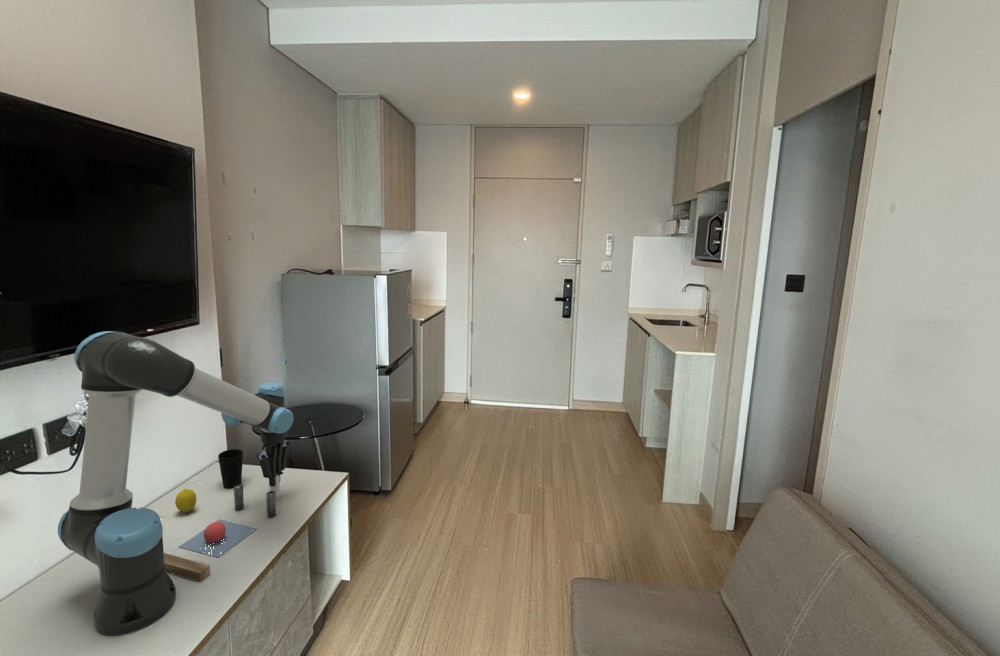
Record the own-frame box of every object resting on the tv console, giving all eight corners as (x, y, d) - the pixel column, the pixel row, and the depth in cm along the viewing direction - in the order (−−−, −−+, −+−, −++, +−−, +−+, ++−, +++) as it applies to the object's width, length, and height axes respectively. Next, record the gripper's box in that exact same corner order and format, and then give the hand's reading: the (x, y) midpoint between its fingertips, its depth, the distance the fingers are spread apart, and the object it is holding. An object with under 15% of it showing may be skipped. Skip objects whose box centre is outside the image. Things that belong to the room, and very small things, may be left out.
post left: (239, 511, 148) (238, 488, 146) (232, 509, 148) (231, 487, 147) (245, 507, 150) (244, 484, 149) (239, 505, 151) (238, 483, 149)
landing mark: (218, 558, 126) (218, 557, 126) (178, 547, 129) (178, 546, 129) (257, 528, 139) (257, 528, 139) (219, 519, 143) (219, 519, 143)
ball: (226, 520, 133) (232, 531, 135) (210, 516, 134) (217, 527, 137) (211, 536, 128) (218, 548, 131) (195, 532, 129) (203, 544, 132)
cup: (221, 481, 165) (219, 450, 163) (245, 478, 168) (243, 447, 166) (218, 492, 158) (216, 460, 156) (243, 488, 161) (242, 456, 159)
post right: (272, 518, 145) (271, 495, 143) (265, 517, 145) (264, 494, 144) (278, 514, 147) (277, 491, 146) (271, 512, 148) (270, 490, 146)
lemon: (201, 508, 148) (199, 485, 147) (188, 517, 143) (186, 494, 141) (185, 506, 149) (183, 483, 147) (171, 516, 143) (170, 492, 142)
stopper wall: (200, 581, 117) (199, 573, 117) (140, 564, 122) (139, 556, 121) (210, 573, 120) (209, 565, 119) (151, 557, 125) (150, 549, 124)
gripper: (277, 420, 159) (279, 481, 163) (248, 434, 146) (251, 500, 151) (295, 423, 157) (297, 485, 161) (268, 437, 145) (270, 505, 149)
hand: (275, 492), depth 156 cm, fingers closed
